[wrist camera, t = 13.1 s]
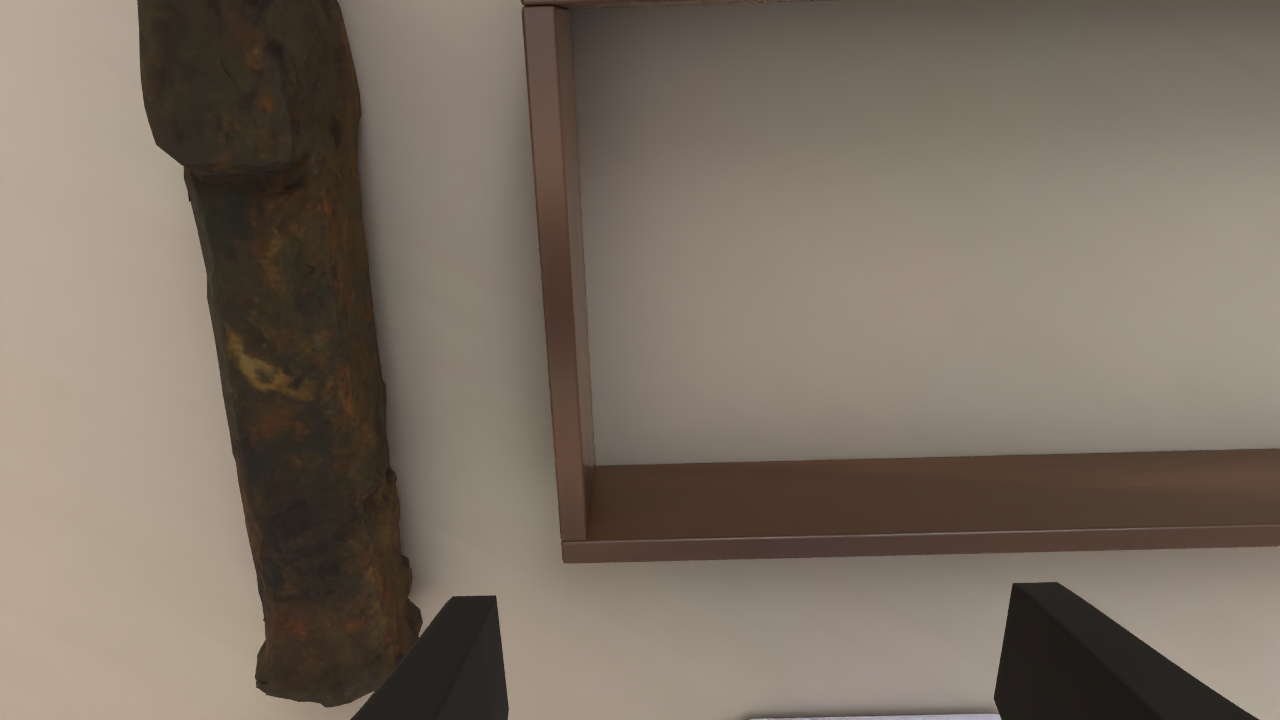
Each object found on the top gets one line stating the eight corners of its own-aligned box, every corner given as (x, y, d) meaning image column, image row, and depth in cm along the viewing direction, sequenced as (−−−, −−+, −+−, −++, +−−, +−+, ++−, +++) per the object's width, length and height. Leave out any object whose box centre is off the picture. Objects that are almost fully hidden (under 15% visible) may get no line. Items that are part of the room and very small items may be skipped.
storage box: (1445, 463, 22) (1586, 540, 19) (573, 485, 22) (562, 564, 19) (1639, -56, 17) (1868, -74, 14) (540, -22, 18) (517, -32, 14)
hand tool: (438, 612, 24) (395, 743, 19) (295, 605, 24) (219, 736, 19) (416, -164, 17) (341, -230, 12) (213, -179, 17) (65, -251, 12)
